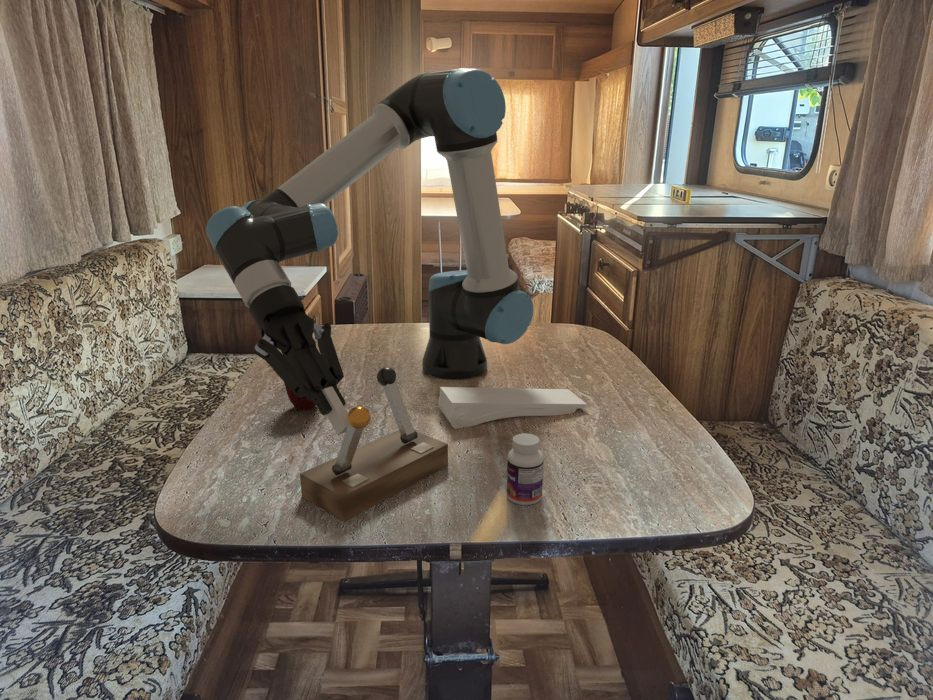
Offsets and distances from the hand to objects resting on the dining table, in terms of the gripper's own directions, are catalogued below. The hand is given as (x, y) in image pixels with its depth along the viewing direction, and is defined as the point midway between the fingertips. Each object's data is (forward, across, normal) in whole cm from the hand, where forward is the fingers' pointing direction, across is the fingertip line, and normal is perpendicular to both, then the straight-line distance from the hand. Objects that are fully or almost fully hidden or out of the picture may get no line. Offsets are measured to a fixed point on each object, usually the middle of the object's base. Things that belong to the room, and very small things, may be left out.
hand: (345, 429), depth 95 cm
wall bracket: (+7, -44, -10) cm, 45 cm away
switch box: (+7, -7, -10) cm, 14 cm away
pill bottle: (+22, -19, +5) cm, 29 cm away
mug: (-16, -17, -33) cm, 40 cm away
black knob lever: (+4, -14, -6) cm, 16 cm away
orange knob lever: (+4, 0, -6) cm, 7 cm away
